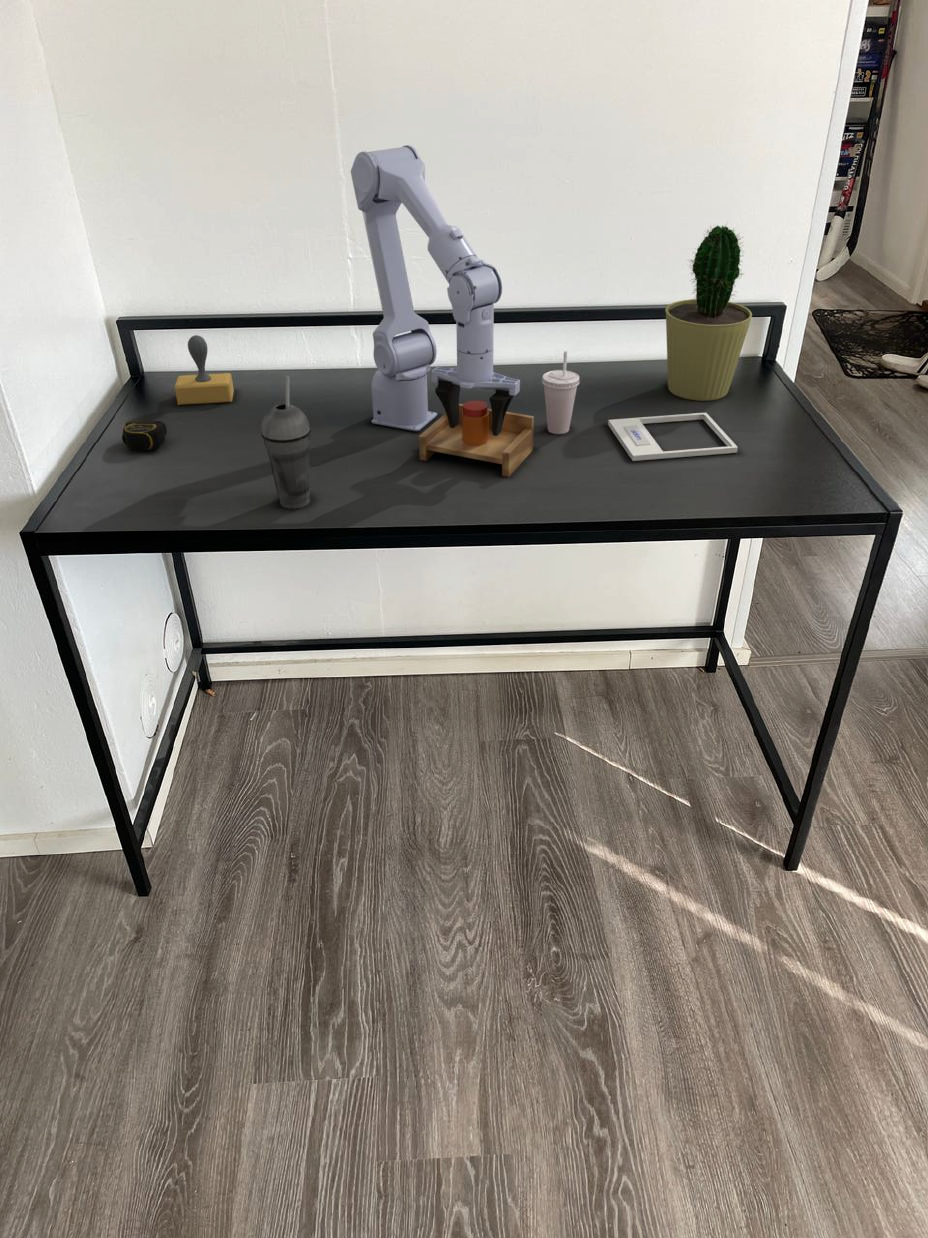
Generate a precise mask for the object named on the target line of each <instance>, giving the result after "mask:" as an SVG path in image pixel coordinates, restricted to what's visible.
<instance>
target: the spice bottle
mask: <svg viewBox="0 0 928 1238" xmlns="http://www.w3.org/2000/svg"><path fill="white" fill-rule="evenodd" d="M462 404H463V411H462V441H463V442H464V443H466V444H468V445H482V444H485V443H487V442H488V440H489V412H488V409H489V407H488V404H487V402H485V401H483V400H469V401H466V402H464V403H462Z"/></svg>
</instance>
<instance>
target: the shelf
mask: <svg viewBox="0 0 928 1238" xmlns="http://www.w3.org/2000/svg"><path fill="white" fill-rule="evenodd" d="M463 404H464V403H459V424H458V425H457V426H456V427H455V428H450V425H449V421H448V418H447V415H446V412H445V411H444V414H443V415H442V416H440V418H438V419H437V420H436V421H435V422H434V423H433V424H431V425H430V426H429V427H428V428H426V429H425V430H424V431H423V432H422V433H420V435H418V448H419V450H418V451H419V460H421V461H428V460H429V459H430V458H431V457H432V456H433V455H434V454H435V453H442V454H447V455H451V456H452V455H453V456H457V457H461V458H468V459H473V460H478V461H482V462H488V463H494V464H497V465H498V464H499V465H501V476H502V477H506V478H510V476H511V475H512V474H513V473H514V472H515V471H516V470H517V468H519V467H520V466H521V464H522V463H523V462H524V461H525V460H526V459H527V458H528V457H529V455H530V454H531V453H532V452H533V451H534V428H535V427H534V424H535V416H534V415H528V414H522V413H517V412H510V411H507V412H506V414H505V417H504V421H503V425H502V430H501V432H500V433H499V434H498V435H497V436H493V434H492V409H491V408H488V412H489V440H488V442H487V443H485V444H482V445H468V444H466V443H464V442H463V441H462V411H463Z"/></svg>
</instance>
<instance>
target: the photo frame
mask: <svg viewBox="0 0 928 1238" xmlns="http://www.w3.org/2000/svg"><path fill="white" fill-rule="evenodd" d="M697 420H703V421H704V423H706V424H707V425H708V427H709V428H710V429H711V430H712V431H713V432H714V433H715V435H717V436H718V438H719V439H720V440H721V441H722V442H723V443H724V444H725V446H716V447H715V446H714V447H705V448H690V449H679V450H678V449H677V450H667V451H665V450H662V448H661V447H660V445H659V444H658V442H657V441H656V440H655V439H654V437H653V436H652V435H651V433H650V432H649V430H648V429H647V428H646V427H645V425H646V424H658V423H671V422H684V421H697ZM644 424H645V425H644ZM607 425H608V427H609V428H610V430H611V431H612V433H613V435H614V436H615V437H616V439H617V440H618V442H619V444H620V445H621V447H623V449H624V450H625V452H626V454H627V455H628V457H629V458H630V459H631V462H636V461H637V462H638V461H648V460H661V459H675V458H685V457H698V456H699V457H700V456H712V455H725V454H735V453H738V449H739V447H738V446H737V445H736V443H735V442H734V441H733V440H732V439H731V438H730V437H729V436H728V435H727V434H726V432H725V431H724V430H723V429H722V428H721V427H720V426H719V425H718V423H716V421H715V420H714V419H713V418H712V417H711V416H710V415H709V414H708V413H707V412H695V413H682V414H670V415H668V414H667V415H656V416H655V415H653V416H643V417H630V418H629V417H628V418H616V419H615V418H614V419H608V422H607Z"/></svg>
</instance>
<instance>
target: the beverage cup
mask: <svg viewBox="0 0 928 1238" xmlns="http://www.w3.org/2000/svg"><path fill="white" fill-rule="evenodd" d="M311 433H312V430H311V427H310V423H309V420H308V417H307V416H306V415H305V413H304V412H303V411H302V410H301V409H300V408H299V407H297V406H295V405H293V404H290V375H285V403H279V404H277V405H274V406H272V407H271V408H269V410H267V412H266V413H265V415H264V417H263V418H262V422H261V431H260V436H261V438H262V440H263V443H264V447H265V449H266V450H267V451H266V452H267V455H268V458H269V463H270V468H271V472H272V476H273V480H274V484H275V489H276V494H277V496H278V500H279V504H280V505H281V507H283V508H285V509H290V510H291V509H292V510H294V509H301V508H304V507H305V506H307V505H308V504H310V501H311V500H310V498H311V497H310V495H311V494H310V492H311V478H310V477H311V474H310V473H311V472H310V470H311V469H310V443H311Z"/></svg>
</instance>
